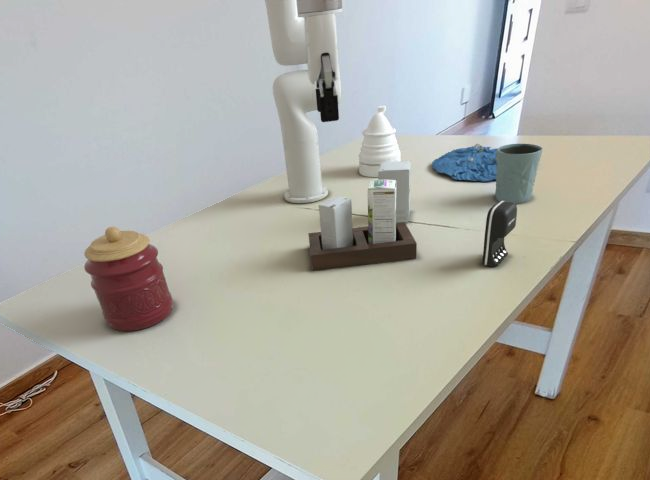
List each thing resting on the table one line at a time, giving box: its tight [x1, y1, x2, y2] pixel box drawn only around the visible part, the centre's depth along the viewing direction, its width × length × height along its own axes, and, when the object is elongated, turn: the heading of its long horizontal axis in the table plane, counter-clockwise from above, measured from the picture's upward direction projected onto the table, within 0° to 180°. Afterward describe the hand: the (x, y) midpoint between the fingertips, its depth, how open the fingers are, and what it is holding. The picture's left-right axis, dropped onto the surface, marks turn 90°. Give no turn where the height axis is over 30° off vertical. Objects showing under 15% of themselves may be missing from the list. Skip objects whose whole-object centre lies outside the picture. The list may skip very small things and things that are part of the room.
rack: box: [307, 222, 418, 272], centre depth 108 cm, size 12×22×4 cm, turn 93°
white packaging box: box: [377, 160, 412, 223], centre depth 120 cm, size 7×7×13 cm
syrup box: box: [367, 179, 396, 244], centre depth 105 cm, size 6×6×14 cm
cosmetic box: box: [318, 195, 354, 250], centre depth 105 cm, size 6×4×12 cm
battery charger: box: [481, 201, 518, 267], centre depth 96 cm, size 7×4×11 cm, turn 142°
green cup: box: [494, 143, 543, 205], centre depth 123 cm, size 10×10×12 cm
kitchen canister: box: [83, 226, 174, 332], centre depth 91 cm, size 13×13×18 cm
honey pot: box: [358, 105, 402, 178], centre depth 151 cm, size 13×13×18 cm
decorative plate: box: [431, 143, 498, 182], centre depth 148 cm, size 30×30×5 cm
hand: (327, 115), depth 92 cm, fingers open, 9 cm apart
